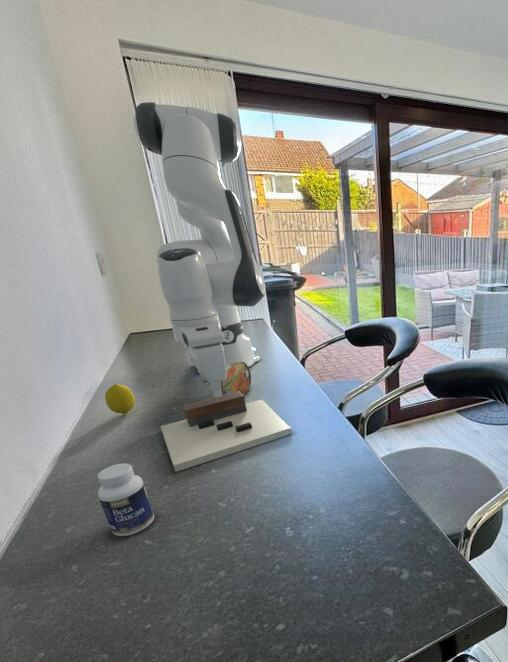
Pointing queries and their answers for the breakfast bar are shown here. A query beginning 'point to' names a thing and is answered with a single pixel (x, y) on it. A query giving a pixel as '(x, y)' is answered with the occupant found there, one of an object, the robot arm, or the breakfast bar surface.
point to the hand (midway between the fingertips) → (212, 389)
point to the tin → (236, 379)
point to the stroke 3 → (243, 427)
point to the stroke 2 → (224, 425)
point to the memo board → (222, 436)
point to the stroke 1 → (206, 424)
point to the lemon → (119, 399)
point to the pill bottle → (124, 500)
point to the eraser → (214, 408)
